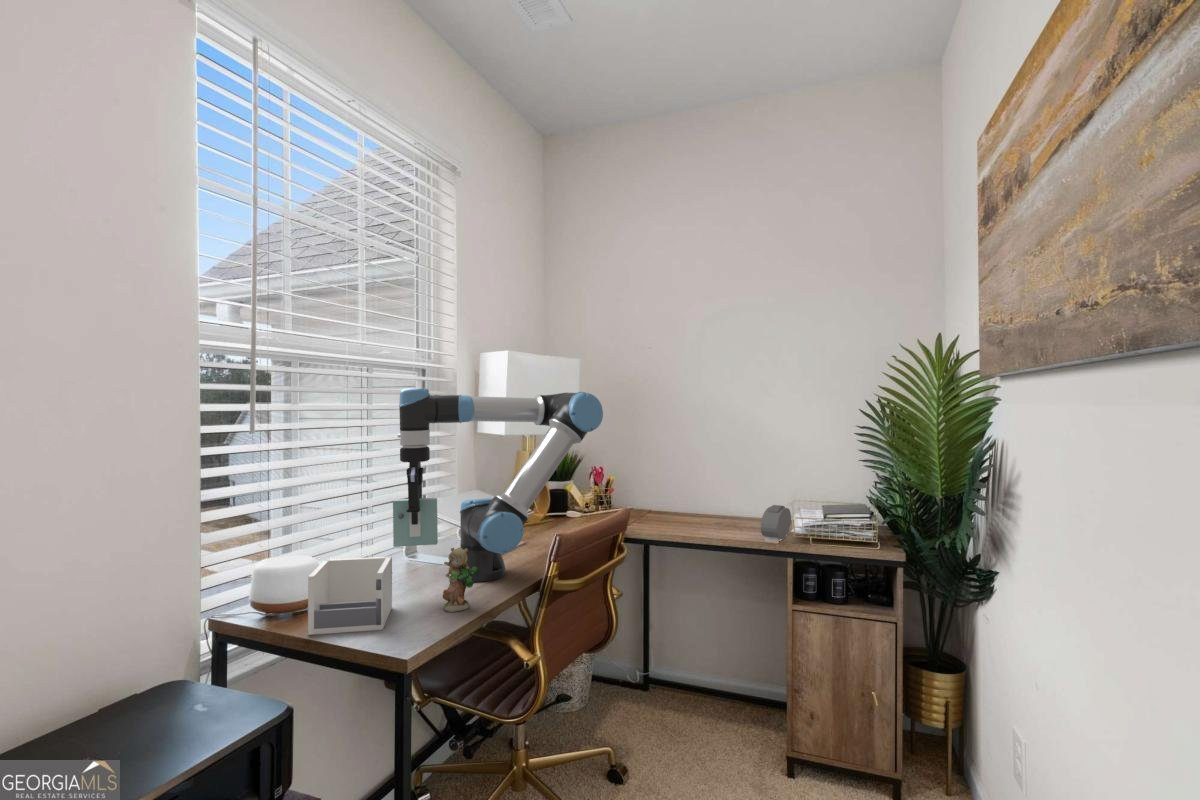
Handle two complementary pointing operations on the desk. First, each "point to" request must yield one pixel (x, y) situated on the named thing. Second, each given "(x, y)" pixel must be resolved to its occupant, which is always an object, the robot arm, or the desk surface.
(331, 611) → the cabinet
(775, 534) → the alarm clock
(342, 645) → the desk surface
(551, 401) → the robot arm
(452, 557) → the figurine
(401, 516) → the door
